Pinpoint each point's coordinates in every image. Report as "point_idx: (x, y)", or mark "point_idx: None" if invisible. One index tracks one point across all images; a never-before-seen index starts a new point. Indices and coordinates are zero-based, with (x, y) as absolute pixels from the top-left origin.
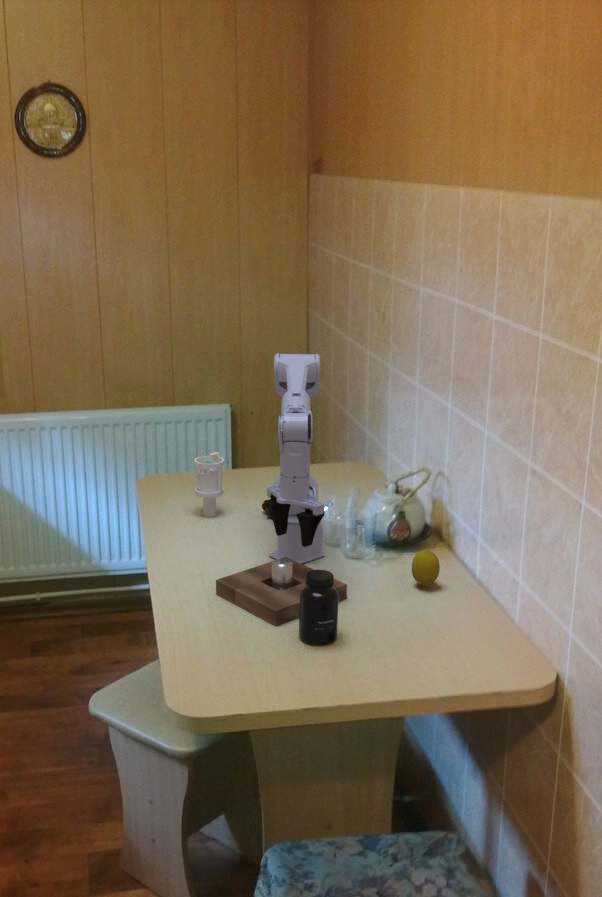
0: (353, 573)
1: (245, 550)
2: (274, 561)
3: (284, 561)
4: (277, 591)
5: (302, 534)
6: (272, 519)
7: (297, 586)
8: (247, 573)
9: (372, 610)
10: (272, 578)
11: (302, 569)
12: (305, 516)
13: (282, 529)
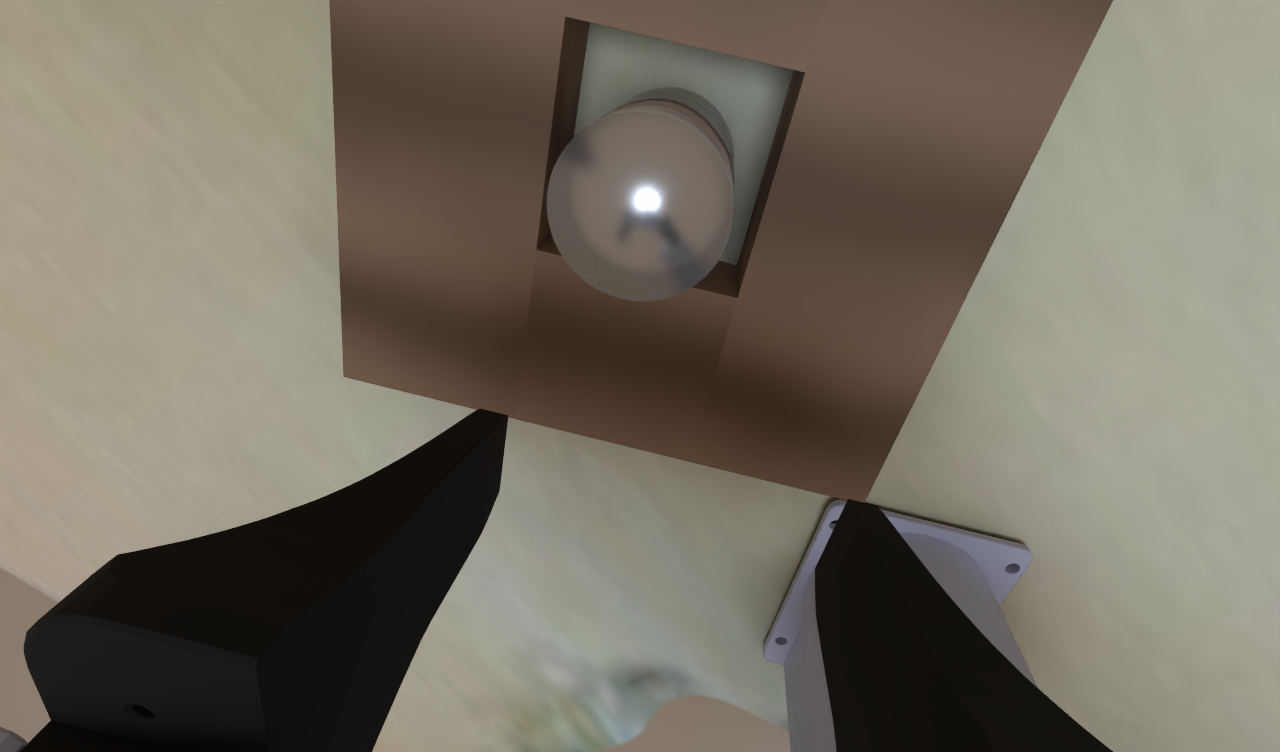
0: (551, 567)
1: (1205, 549)
2: (713, 196)
3: (641, 251)
4: (575, 1)
5: (424, 468)
6: (976, 627)
7: (524, 177)
8: (973, 140)
9: (216, 301)
10: (694, 110)
11: (668, 410)
12: (33, 627)
13: (838, 575)
